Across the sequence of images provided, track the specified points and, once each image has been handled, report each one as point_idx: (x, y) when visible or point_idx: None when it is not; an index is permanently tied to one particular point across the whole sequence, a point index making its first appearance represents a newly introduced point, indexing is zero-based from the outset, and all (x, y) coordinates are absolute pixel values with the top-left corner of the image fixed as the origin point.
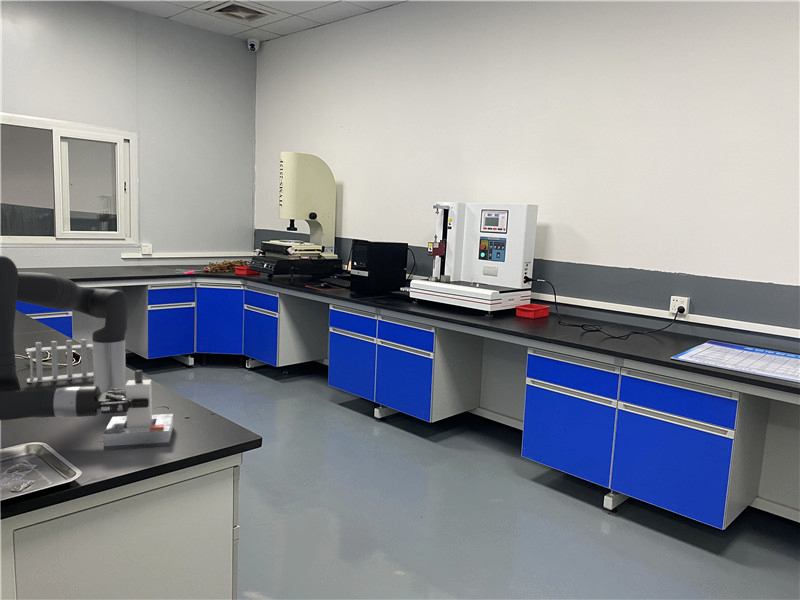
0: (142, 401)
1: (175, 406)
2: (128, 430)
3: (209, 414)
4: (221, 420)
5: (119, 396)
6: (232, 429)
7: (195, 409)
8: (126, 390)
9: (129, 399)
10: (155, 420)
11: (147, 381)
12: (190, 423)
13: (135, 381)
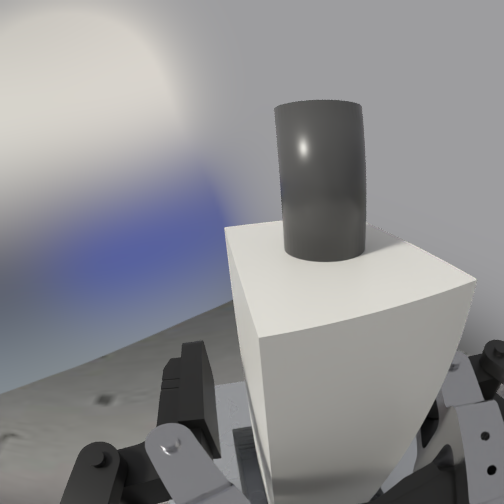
0: None
1: (9, 420)
2: (409, 470)
3: (102, 360)
4: (154, 337)
5: (481, 424)
6: (222, 314)
7: (52, 384)
8: (454, 339)
9: (456, 355)
10: (234, 437)
11: (281, 226)
12: (156, 389)
13: (362, 233)
